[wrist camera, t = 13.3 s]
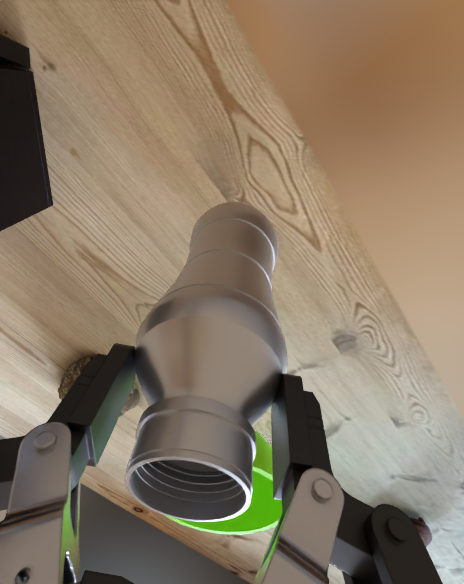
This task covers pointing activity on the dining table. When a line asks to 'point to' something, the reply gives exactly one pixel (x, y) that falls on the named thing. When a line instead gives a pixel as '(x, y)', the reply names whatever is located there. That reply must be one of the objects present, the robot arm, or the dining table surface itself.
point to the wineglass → (262, 505)
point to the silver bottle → (209, 371)
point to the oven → (21, 150)
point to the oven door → (13, 53)
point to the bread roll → (75, 372)
